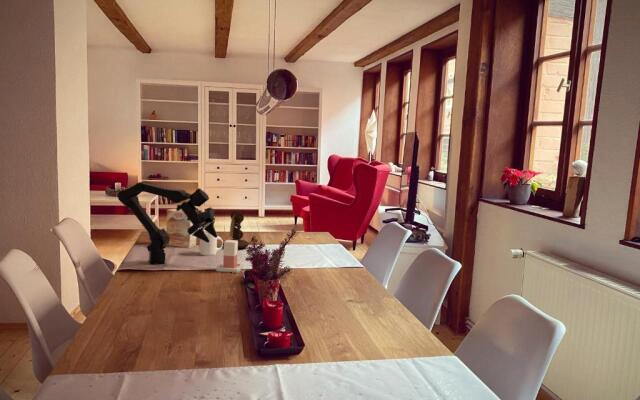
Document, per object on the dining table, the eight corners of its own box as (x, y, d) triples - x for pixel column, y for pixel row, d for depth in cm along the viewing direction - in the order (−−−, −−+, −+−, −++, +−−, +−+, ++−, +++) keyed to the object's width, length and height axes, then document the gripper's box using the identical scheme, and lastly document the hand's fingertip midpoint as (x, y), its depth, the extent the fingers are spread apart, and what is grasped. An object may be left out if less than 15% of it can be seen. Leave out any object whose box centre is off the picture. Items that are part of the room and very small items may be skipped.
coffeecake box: (165, 244, 267) (166, 209, 265) (172, 242, 274) (173, 208, 272) (189, 248, 263) (190, 212, 261) (196, 245, 270) (197, 210, 268)
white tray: (216, 271, 220) (216, 267, 220) (222, 265, 230) (223, 262, 230) (237, 273, 219) (237, 269, 219) (243, 267, 229) (243, 264, 229)
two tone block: (223, 268, 223) (224, 241, 221) (226, 266, 228) (227, 239, 226) (233, 269, 222) (234, 242, 221) (236, 266, 227) (237, 240, 226)
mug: (224, 255, 252) (225, 234, 250) (201, 256, 247) (201, 235, 245) (220, 251, 259) (221, 231, 258) (197, 252, 254) (198, 232, 253)
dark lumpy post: (219, 245, 275) (221, 210, 273) (245, 244, 281) (246, 210, 279) (226, 250, 262) (227, 214, 260) (252, 249, 268) (254, 214, 266)
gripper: (195, 206, 213) (217, 234, 214) (212, 199, 231) (232, 225, 232) (177, 220, 216) (199, 248, 216) (196, 212, 234) (215, 238, 234)
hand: (212, 239), depth 225 cm, fingers open, 9 cm apart
